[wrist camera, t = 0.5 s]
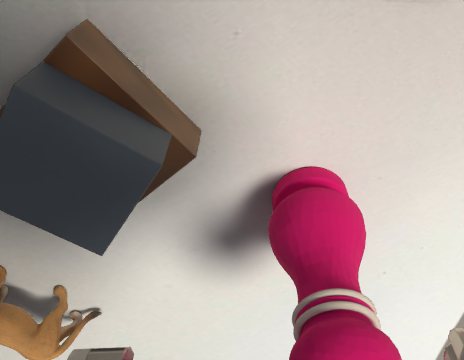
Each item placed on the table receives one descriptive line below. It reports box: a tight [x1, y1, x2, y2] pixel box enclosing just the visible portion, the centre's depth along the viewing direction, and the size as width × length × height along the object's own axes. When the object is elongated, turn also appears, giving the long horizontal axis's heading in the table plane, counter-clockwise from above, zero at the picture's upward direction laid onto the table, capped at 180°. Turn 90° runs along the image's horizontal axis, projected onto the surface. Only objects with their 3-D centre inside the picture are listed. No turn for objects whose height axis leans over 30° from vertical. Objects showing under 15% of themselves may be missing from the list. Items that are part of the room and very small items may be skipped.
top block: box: [0, 62, 172, 256], centre depth 27 cm, size 9×9×4 cm
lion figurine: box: [0, 266, 102, 360], centre depth 40 cm, size 15×5×9 cm, turn 70°
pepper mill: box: [268, 167, 402, 360], centre depth 27 cm, size 7×7×20 cm
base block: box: [0, 19, 201, 202], centre depth 31 cm, size 11×11×4 cm
